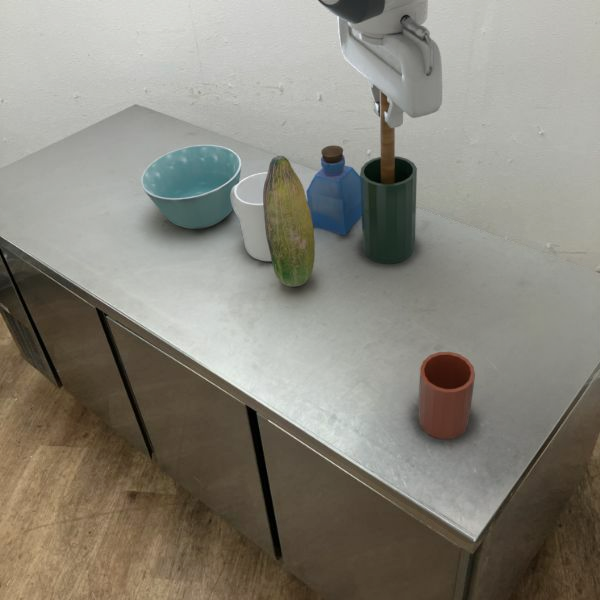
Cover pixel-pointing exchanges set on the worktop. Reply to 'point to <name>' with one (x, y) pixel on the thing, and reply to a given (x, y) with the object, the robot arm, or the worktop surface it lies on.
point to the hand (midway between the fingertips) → (387, 119)
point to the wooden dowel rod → (386, 144)
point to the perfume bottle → (335, 193)
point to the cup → (388, 211)
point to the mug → (252, 214)
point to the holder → (445, 394)
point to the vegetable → (288, 224)
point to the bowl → (193, 184)
